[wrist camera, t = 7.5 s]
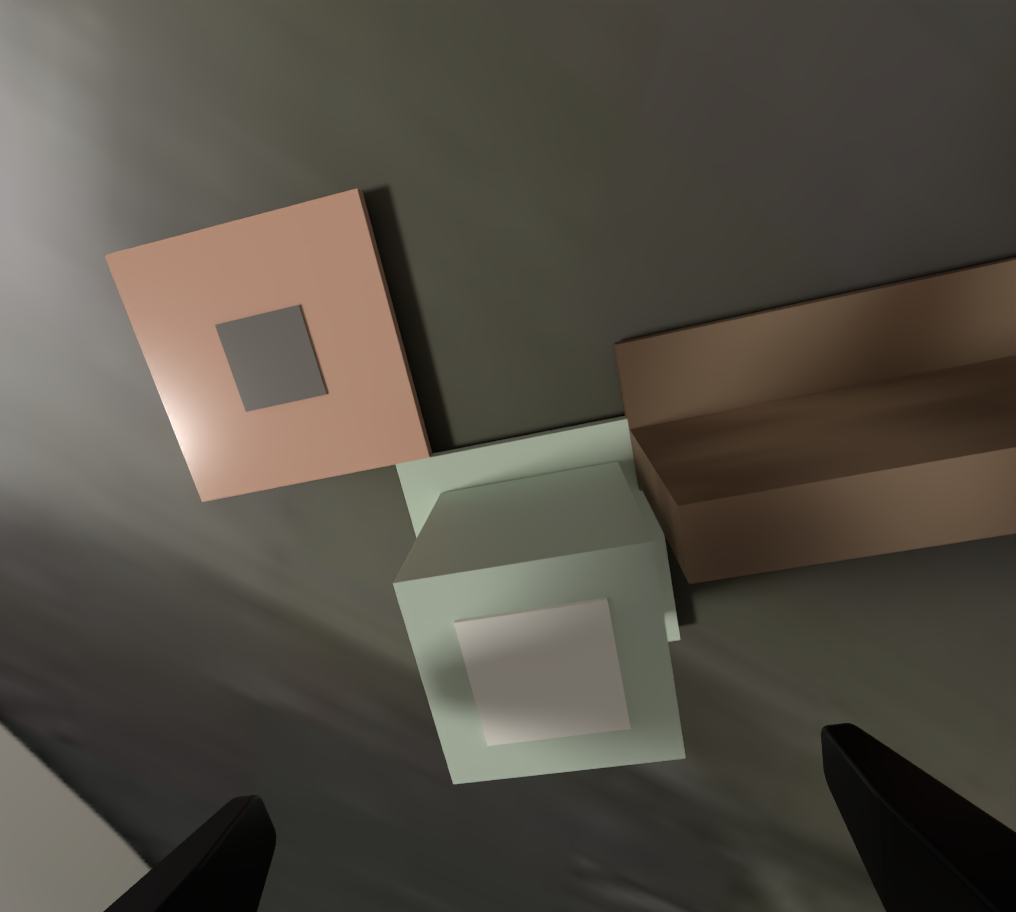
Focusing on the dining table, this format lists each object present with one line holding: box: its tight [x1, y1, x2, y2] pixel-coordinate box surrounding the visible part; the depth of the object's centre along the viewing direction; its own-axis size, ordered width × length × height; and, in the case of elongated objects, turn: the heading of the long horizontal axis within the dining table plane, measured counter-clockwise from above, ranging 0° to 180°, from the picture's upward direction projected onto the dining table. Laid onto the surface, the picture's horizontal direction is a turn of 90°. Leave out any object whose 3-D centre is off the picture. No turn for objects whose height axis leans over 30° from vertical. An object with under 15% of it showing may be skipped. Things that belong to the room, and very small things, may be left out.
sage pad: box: [396, 416, 680, 642], centre depth 16 cm, size 7×7×1 cm
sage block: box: [393, 461, 686, 784], centre depth 13 cm, size 5×5×5 cm
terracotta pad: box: [105, 189, 432, 502], centre depth 15 cm, size 7×7×1 cm
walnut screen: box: [613, 257, 1016, 584], centre depth 11 cm, size 14×4×6 cm, turn 102°
